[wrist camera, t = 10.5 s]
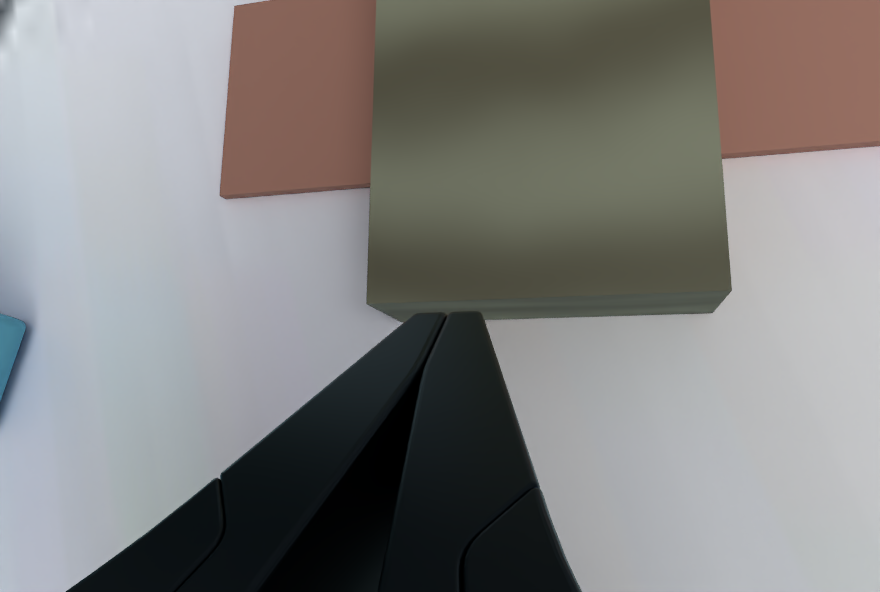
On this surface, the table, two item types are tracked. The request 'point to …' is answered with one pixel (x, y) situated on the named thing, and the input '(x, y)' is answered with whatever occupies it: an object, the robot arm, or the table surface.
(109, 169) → the table surface
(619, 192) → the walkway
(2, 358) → the data package
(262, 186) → the reddish brown flat panel
